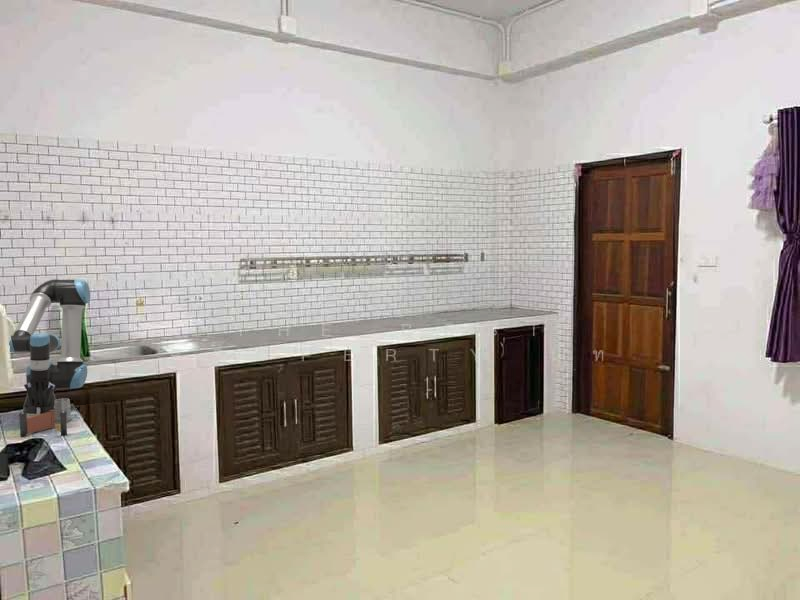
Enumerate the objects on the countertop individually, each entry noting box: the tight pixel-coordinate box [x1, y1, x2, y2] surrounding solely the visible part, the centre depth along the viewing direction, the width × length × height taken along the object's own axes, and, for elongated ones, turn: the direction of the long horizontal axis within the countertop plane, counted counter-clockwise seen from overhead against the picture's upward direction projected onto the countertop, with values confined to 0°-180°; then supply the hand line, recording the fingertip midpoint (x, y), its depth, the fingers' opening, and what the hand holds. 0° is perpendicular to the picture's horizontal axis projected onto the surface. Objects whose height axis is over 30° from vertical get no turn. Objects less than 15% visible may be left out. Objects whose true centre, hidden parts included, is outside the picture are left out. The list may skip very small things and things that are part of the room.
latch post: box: [55, 411, 68, 437], centre depth 283 cm, size 4×4×11 cm
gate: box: [26, 410, 56, 435], centre depth 288 cm, size 13×2×8 cm, turn 156°
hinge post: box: [18, 411, 28, 438], centre depth 280 cm, size 3×3×11 cm
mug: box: [54, 397, 73, 424], centre depth 303 cm, size 8×12×12 cm, turn 29°
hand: (39, 421), depth 291 cm, fingers closed
